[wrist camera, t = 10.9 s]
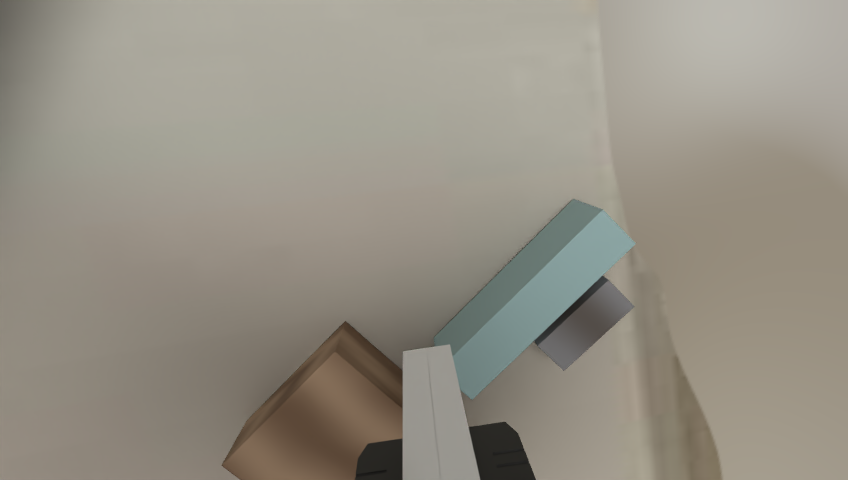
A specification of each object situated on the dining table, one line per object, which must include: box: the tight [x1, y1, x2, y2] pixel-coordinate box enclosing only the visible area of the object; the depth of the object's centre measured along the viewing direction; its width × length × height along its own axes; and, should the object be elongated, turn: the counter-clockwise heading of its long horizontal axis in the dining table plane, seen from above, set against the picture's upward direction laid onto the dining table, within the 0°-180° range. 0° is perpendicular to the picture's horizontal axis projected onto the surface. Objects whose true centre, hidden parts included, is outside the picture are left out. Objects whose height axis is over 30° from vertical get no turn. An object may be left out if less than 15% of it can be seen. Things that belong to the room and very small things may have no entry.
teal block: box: [434, 199, 635, 400], centre depth 31 cm, size 14×3×5 cm, turn 136°
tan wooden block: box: [221, 276, 634, 480], centre depth 32 cm, size 26×14×7 cm, turn 136°
